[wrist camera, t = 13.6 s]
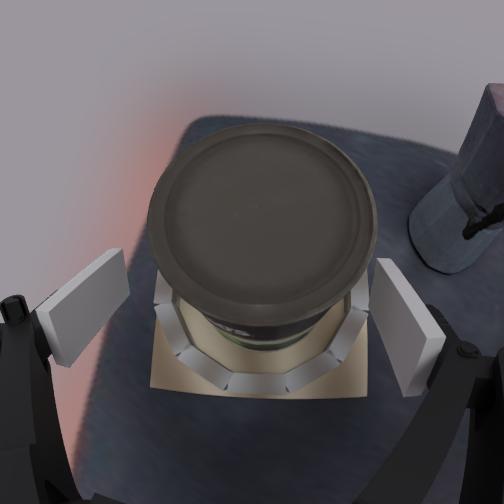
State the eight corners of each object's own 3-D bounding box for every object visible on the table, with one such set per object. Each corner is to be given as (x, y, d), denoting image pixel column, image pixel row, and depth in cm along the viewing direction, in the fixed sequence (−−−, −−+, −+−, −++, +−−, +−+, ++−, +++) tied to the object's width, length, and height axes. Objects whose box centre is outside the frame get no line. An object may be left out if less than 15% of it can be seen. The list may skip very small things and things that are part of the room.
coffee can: (259, 379, 23) (248, 383, 10) (182, 287, 27) (109, 201, 14) (350, 296, 26) (420, 214, 13) (270, 216, 29) (269, 96, 16)
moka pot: (488, 217, 29) (584, 109, 11) (447, 324, 25) (610, 236, 7) (430, 171, 32) (502, 38, 13) (375, 268, 28) (492, 110, 9)
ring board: (354, 209, 30) (362, 189, 27) (362, 395, 23) (376, 397, 20) (178, 205, 31) (168, 186, 28) (154, 386, 24) (138, 387, 21)
